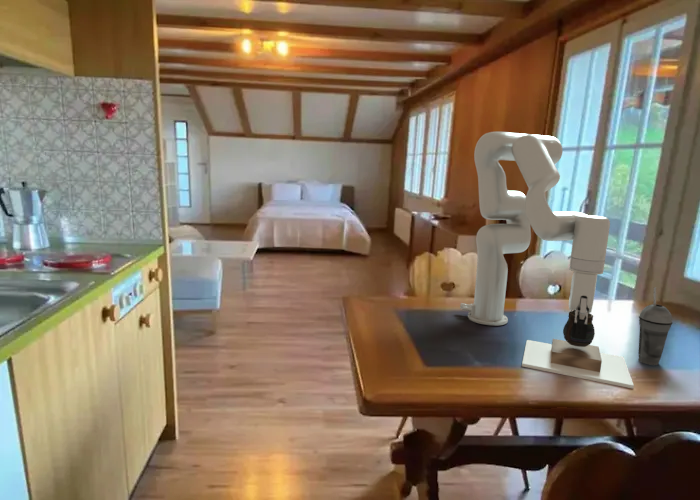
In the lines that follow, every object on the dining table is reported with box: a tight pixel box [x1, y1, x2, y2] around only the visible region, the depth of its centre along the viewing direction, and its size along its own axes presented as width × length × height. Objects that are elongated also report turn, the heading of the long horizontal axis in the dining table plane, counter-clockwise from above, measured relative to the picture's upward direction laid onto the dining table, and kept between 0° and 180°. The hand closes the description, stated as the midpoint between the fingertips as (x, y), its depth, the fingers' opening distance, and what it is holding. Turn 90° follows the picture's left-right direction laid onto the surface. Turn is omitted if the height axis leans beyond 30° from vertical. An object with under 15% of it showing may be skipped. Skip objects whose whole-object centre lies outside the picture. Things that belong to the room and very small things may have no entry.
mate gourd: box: [562, 310, 596, 347], centre depth 113 cm, size 7×8×10 cm
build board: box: [521, 339, 635, 389], centre depth 115 cm, size 24×18×1 cm
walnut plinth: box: [551, 338, 602, 372], centre depth 115 cm, size 11×10×3 cm
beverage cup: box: [638, 287, 673, 366], centre depth 116 cm, size 7×7×20 cm
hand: (577, 332), depth 114 cm, fingers closed on mate gourd, 7 cm apart
